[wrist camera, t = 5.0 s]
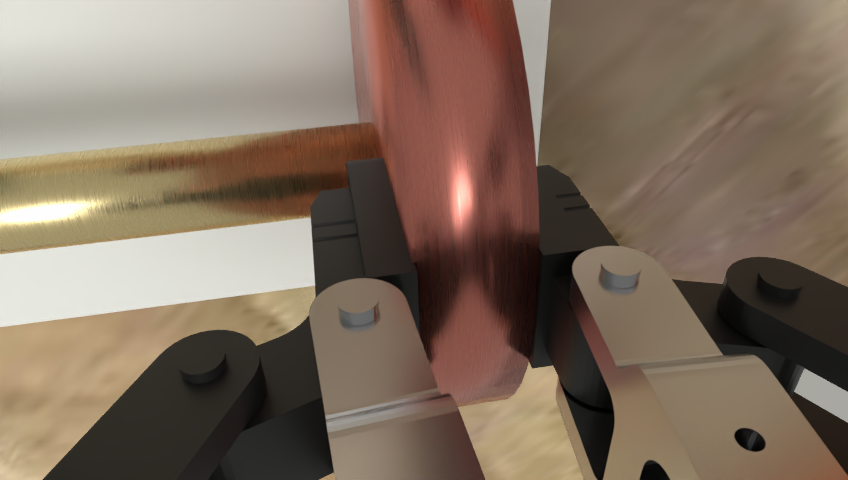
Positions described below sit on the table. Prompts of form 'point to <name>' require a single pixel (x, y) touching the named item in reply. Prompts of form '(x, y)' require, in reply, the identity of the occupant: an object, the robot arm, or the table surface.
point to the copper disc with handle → (326, 170)
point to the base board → (179, 129)
